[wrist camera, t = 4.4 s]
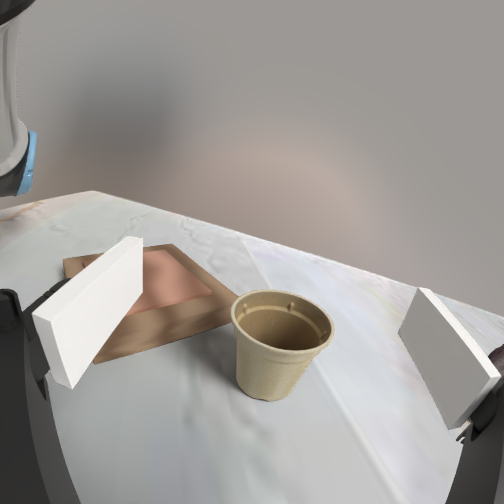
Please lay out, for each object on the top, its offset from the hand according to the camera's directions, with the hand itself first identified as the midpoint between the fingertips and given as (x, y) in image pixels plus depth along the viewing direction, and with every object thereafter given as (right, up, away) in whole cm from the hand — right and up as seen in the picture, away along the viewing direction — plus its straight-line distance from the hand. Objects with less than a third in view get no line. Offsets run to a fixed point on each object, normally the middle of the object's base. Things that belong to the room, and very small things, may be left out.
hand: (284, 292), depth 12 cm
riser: (-17, -5, +25) cm, 30 cm away
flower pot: (0, -12, +16) cm, 20 cm away
